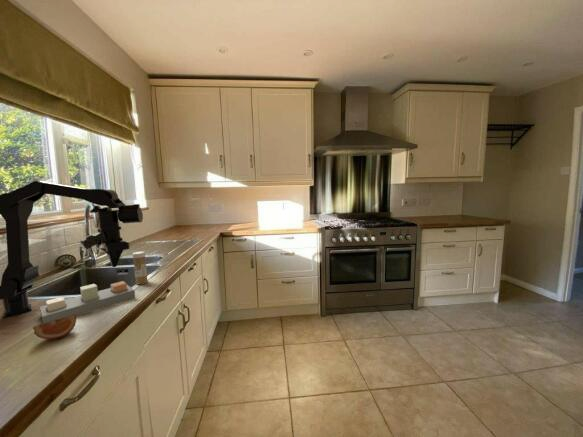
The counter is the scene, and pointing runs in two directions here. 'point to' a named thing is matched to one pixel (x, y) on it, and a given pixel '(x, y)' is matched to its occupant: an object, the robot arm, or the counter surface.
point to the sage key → (89, 292)
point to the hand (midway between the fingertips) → (114, 266)
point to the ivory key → (55, 304)
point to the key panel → (86, 304)
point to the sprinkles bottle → (140, 267)
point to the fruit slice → (56, 328)
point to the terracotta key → (118, 287)
